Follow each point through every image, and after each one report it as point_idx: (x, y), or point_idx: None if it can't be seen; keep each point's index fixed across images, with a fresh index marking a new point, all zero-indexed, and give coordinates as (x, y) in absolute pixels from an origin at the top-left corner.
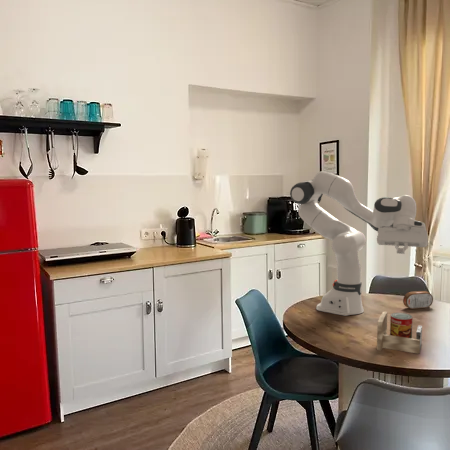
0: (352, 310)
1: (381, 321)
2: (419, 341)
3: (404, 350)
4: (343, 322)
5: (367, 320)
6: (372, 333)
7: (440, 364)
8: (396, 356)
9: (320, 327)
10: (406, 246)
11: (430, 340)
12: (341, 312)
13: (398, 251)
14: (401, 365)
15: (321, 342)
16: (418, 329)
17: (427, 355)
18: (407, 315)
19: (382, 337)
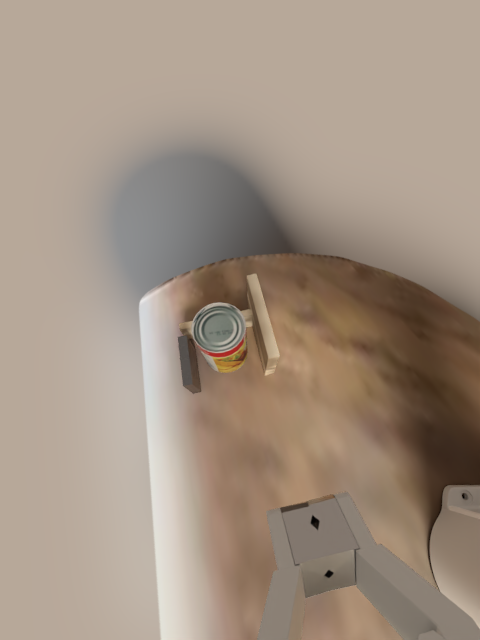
0: (449, 522)
1: (250, 280)
2: (179, 323)
3: None
4: (404, 421)
5: (369, 487)
6: (303, 386)
7: (146, 311)
8: (217, 300)
9: (415, 349)
10: (260, 632)
11: (179, 425)
12: (469, 497)
13: (327, 496)
14: (200, 274)
15: (351, 279)
16: (185, 353)
17: (171, 335)
18: (206, 340)
19: (250, 307)
